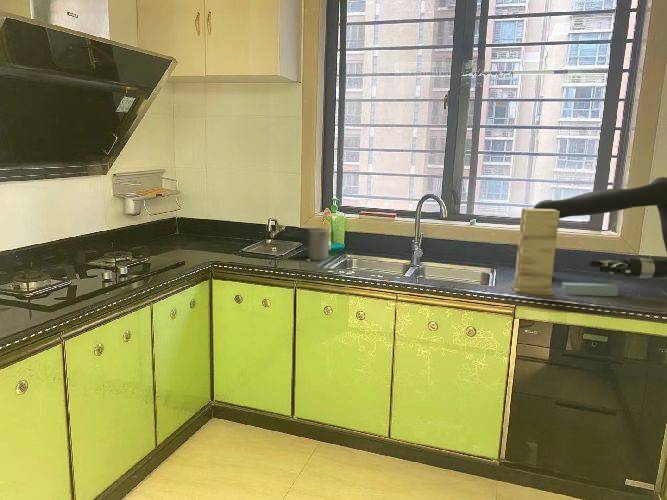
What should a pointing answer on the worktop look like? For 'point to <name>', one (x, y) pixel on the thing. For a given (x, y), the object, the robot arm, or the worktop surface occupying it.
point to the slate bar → (589, 289)
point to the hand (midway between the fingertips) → (594, 266)
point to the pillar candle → (318, 244)
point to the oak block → (536, 251)
